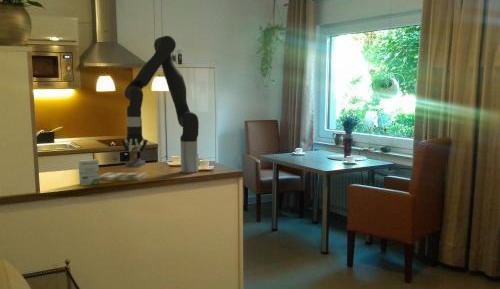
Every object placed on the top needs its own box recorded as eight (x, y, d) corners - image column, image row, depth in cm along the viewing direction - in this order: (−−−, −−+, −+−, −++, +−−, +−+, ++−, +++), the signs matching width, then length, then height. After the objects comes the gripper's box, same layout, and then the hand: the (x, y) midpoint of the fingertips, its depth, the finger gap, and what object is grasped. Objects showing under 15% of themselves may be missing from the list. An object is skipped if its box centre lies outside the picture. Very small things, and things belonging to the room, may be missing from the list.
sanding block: (145, 164, 238) (144, 149, 237) (138, 167, 227) (138, 152, 226) (132, 164, 238) (131, 149, 237) (125, 167, 227) (124, 151, 226)
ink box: (97, 182, 223) (96, 158, 221) (99, 183, 219) (98, 160, 217) (79, 183, 219) (78, 160, 217) (81, 185, 214) (79, 161, 213)
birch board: (147, 175, 239) (147, 172, 239) (139, 180, 227) (139, 177, 226) (107, 175, 241) (107, 172, 241) (97, 180, 228) (97, 177, 228)
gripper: (150, 125, 234) (150, 158, 235) (123, 124, 234) (124, 157, 236) (145, 126, 226) (146, 160, 228) (118, 125, 227) (119, 159, 229)
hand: (135, 158), depth 232 cm, fingers closed on sanding block, 3 cm apart
